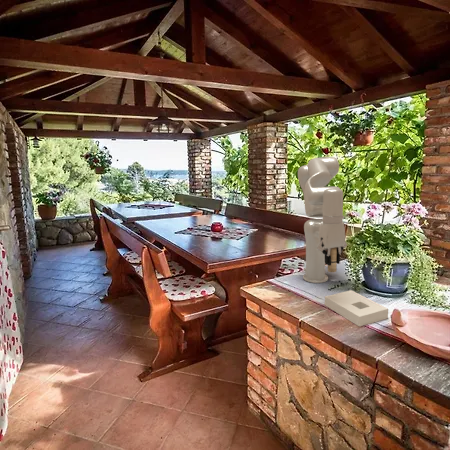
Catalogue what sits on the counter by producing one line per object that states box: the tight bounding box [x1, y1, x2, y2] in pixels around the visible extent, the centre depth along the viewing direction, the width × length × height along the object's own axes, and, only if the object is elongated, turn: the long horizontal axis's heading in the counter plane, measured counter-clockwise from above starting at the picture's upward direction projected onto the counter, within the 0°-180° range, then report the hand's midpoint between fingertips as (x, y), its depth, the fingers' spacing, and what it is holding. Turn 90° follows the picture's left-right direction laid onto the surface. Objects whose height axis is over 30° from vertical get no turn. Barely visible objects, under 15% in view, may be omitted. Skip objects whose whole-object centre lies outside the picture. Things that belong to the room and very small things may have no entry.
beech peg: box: [327, 248, 338, 273], centre depth 131 cm, size 4×4×10 cm
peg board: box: [324, 289, 389, 328], centre depth 131 cm, size 20×14×4 cm
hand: (332, 263), depth 132 cm, fingers closed on beech peg, 3 cm apart
